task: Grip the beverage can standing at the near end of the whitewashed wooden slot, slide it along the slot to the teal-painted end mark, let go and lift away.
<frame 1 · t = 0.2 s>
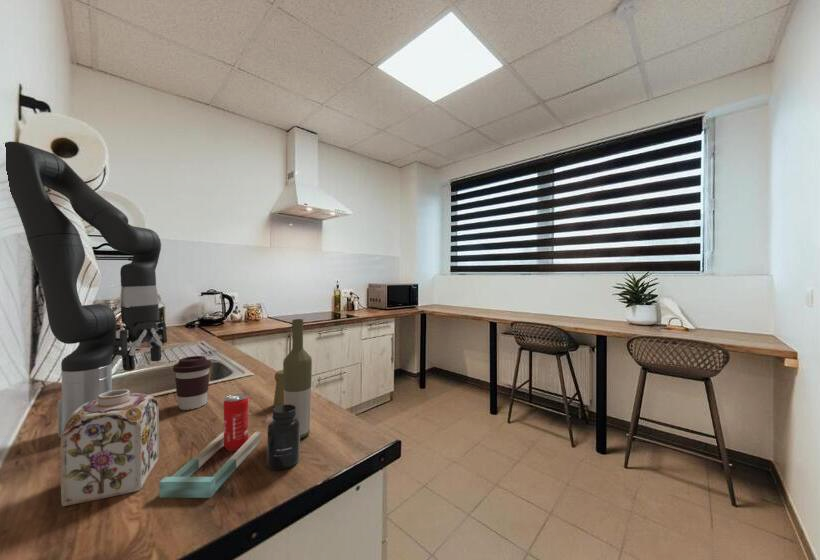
hand: (143, 365, 84), 18 cm above the counter, tool pointing down, fingers open, 8 cm apart
cork: (283, 405, 103), on the counter
beverage can: (236, 446, 78), on the counter
bottle: (297, 435, 84), on the counter
supplement bottle: (283, 462, 72), on the counter
coffee cup: (192, 406, 101), on the counter
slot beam: (219, 462, 71), on the counter
decorative jar: (116, 482, 65), on the counter
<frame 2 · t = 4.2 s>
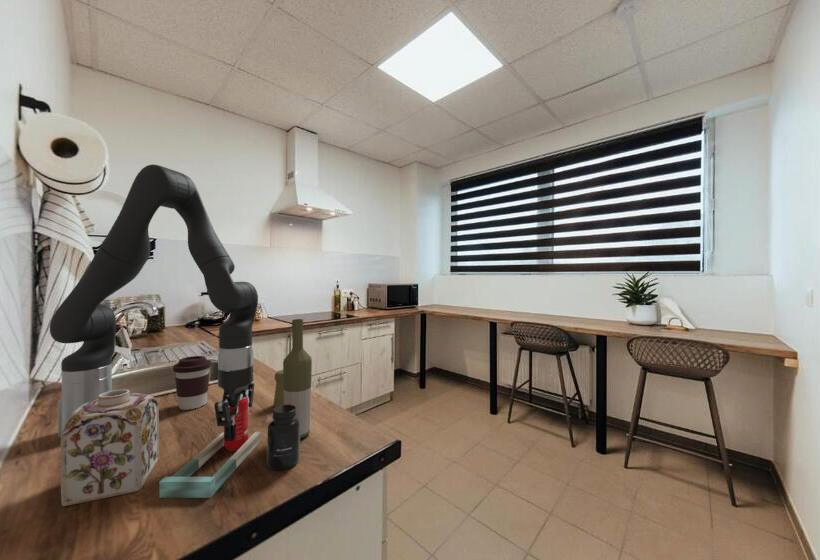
hand: (236, 433, 78), 3 cm above the counter, tool pointing down, fingers closed on beverage can, 5 cm apart
beverage can: (236, 446, 78), on the counter, touching gripper
everything else where it was.
when the fingers open (3 cm above the counter, at t = 7.9 s): beverage can stays where it is, on the counter.
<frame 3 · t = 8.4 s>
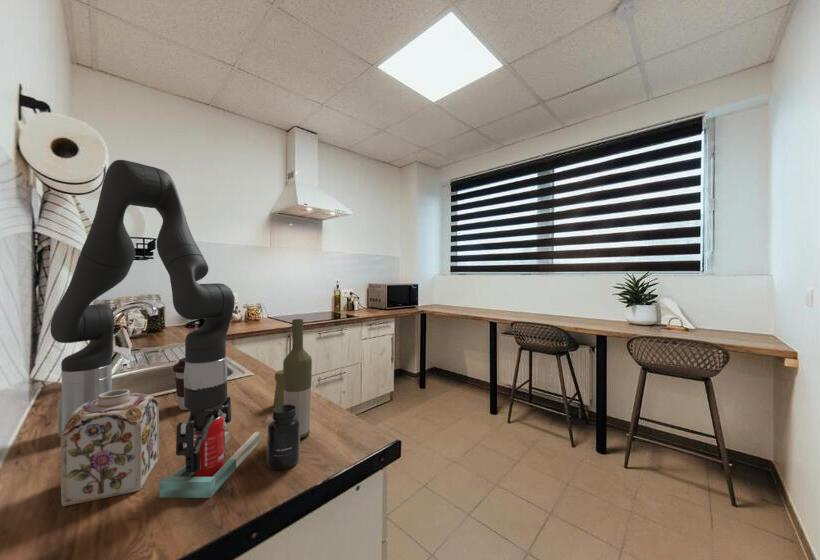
hand: (206, 458, 67), 4 cm above the counter, tool pointing down, fingers open, 8 cm apart
beverage can: (209, 474, 67), on the counter
everything else where it was.
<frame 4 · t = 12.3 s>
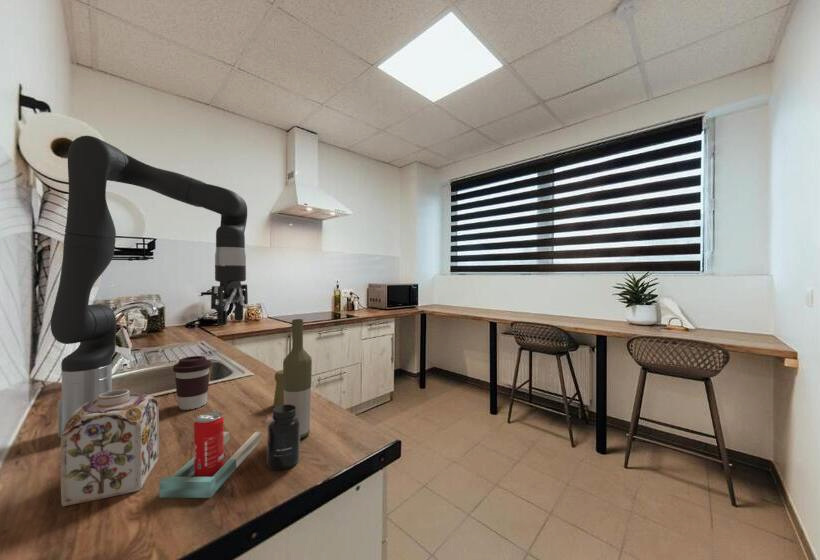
hand: (230, 322, 90), 28 cm above the counter, tool pointing down, fingers open, 8 cm apart
nothing on the counter moved.
at the end: beverage can inside the target area (1.2 cm from its centre), on the counter; beverage can tilted 0°; the gripper is holding nothing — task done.
